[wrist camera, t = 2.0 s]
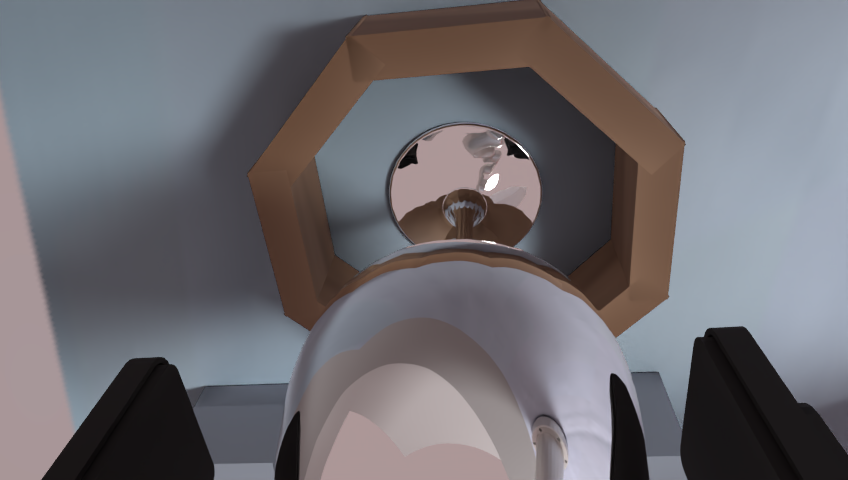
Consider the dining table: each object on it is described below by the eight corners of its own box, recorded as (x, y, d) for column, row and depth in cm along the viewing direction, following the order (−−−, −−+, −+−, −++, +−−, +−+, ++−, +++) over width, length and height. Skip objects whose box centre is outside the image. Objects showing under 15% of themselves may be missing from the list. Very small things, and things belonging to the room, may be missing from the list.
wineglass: (465, 52, 16) (450, 368, 5) (608, 195, 17) (808, 645, 7) (327, 195, 18) (130, 609, 8) (465, 309, 20) (456, 773, 9)
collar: (668, -16, 15) (702, 0, 12) (638, 331, 20) (659, 385, 18) (248, 26, 16) (212, 48, 14) (323, 343, 21) (305, 396, 19)
